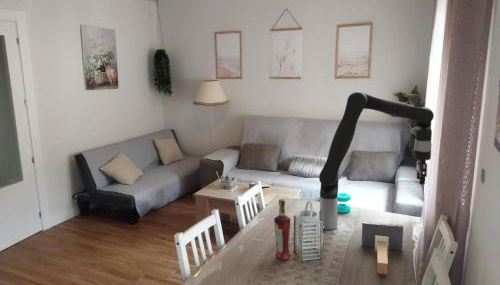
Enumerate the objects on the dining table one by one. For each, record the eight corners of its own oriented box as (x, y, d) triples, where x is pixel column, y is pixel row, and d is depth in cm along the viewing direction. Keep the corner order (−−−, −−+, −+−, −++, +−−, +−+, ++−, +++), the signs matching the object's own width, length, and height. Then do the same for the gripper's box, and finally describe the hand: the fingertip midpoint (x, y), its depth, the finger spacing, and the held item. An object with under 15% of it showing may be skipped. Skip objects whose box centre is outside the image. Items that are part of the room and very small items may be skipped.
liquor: (272, 256, 171) (270, 198, 166) (286, 252, 174) (285, 196, 169) (279, 263, 165) (278, 204, 159) (294, 259, 167) (293, 201, 162)
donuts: (334, 197, 216) (332, 192, 225) (334, 213, 218) (332, 207, 227) (352, 197, 215) (349, 191, 224) (351, 213, 217) (348, 207, 226)
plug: (377, 273, 154) (377, 262, 153) (377, 250, 173) (377, 240, 172) (387, 274, 153) (387, 263, 152) (386, 251, 171) (386, 241, 170)
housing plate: (361, 246, 177) (362, 223, 175) (361, 244, 179) (362, 221, 177) (402, 251, 171) (403, 226, 169) (401, 249, 173) (402, 225, 171)
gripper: (412, 145, 184) (410, 177, 188) (416, 152, 171) (414, 185, 174) (428, 146, 182) (426, 177, 186) (434, 152, 169) (431, 186, 172)
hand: (420, 181), depth 180 cm, fingers open, 8 cm apart
